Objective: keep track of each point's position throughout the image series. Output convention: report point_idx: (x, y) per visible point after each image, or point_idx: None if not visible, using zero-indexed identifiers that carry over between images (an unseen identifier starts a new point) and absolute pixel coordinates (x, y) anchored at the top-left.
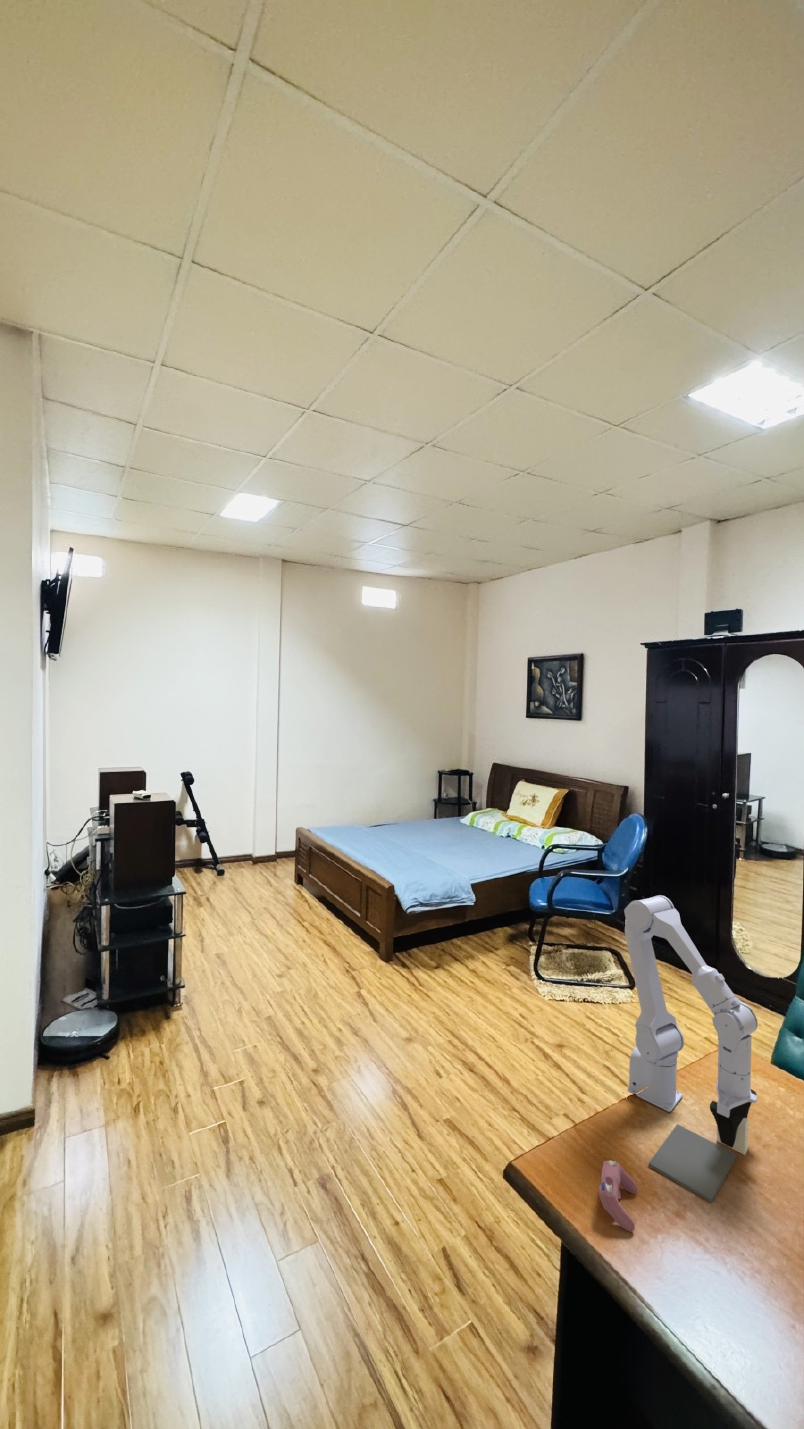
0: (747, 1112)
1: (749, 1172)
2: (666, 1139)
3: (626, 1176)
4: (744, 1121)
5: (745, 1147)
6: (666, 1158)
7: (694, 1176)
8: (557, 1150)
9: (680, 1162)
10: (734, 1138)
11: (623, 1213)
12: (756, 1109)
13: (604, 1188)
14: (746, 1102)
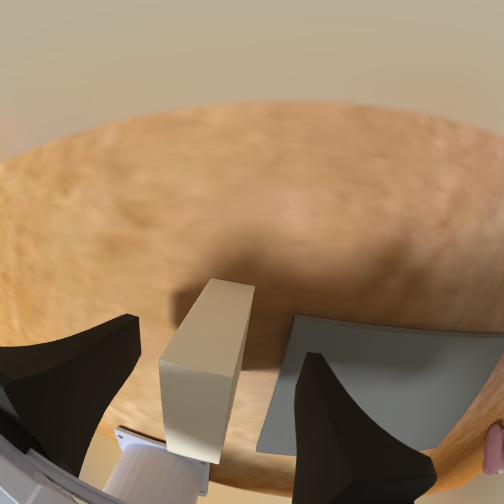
0: (89, 348)
1: (358, 264)
2: None
3: (501, 448)
4: (198, 379)
5: (243, 297)
6: (413, 438)
7: (457, 388)
8: (427, 493)
9: (417, 420)
10: (339, 382)
11: None
12: (12, 257)
13: None
14: (57, 388)
